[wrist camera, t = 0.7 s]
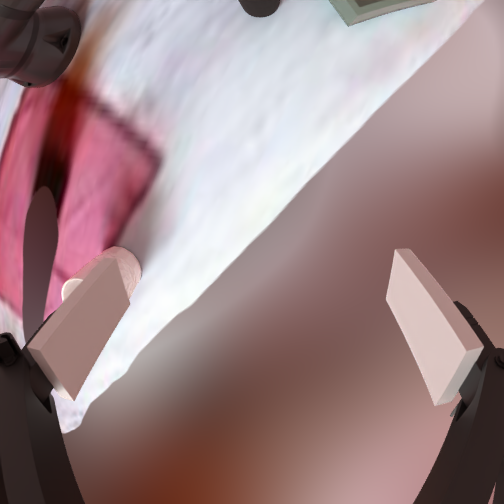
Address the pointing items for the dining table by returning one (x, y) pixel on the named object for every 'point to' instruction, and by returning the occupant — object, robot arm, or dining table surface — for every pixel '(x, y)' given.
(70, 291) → the white cup
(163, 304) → the dining table surface
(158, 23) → the dining table surface
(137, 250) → the dining table surface
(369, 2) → the grey-green shallow box
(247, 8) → the drinking cup
